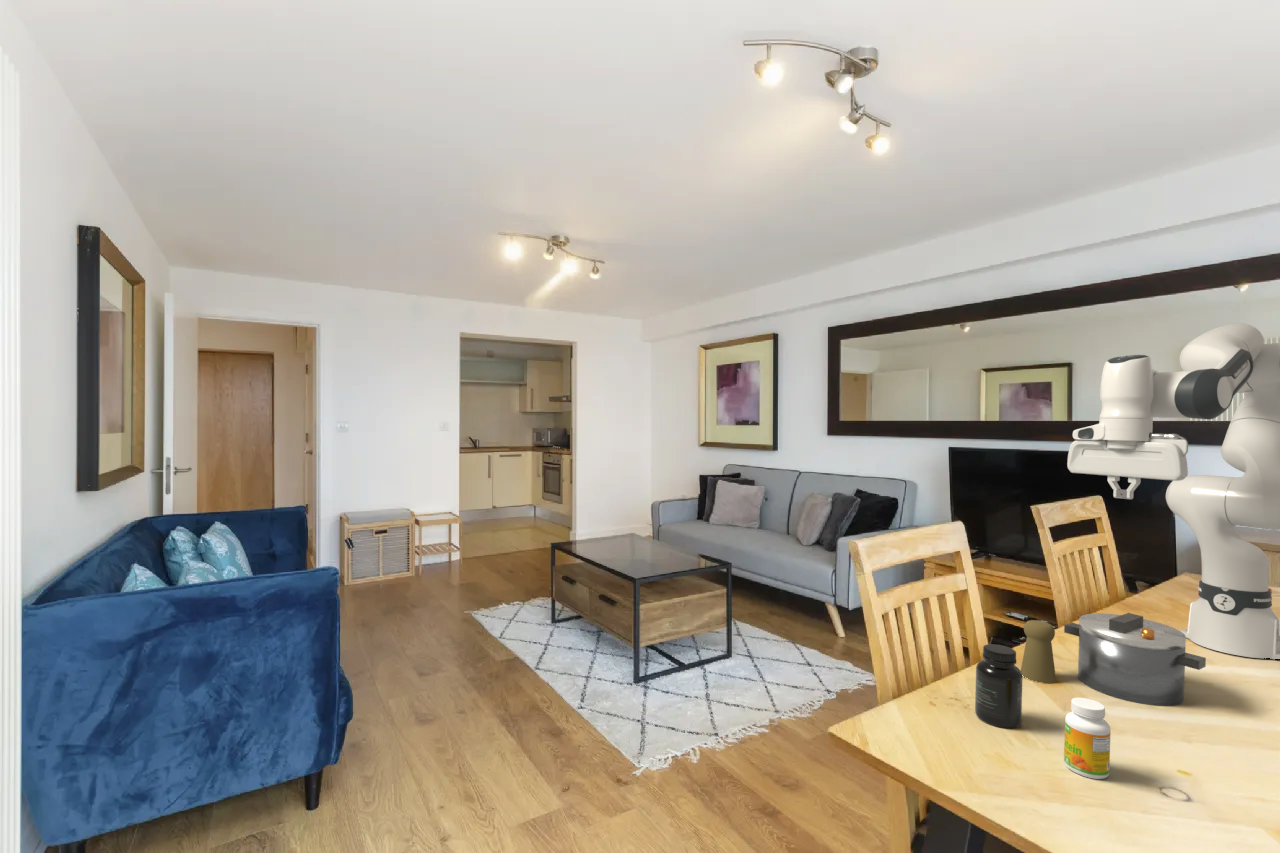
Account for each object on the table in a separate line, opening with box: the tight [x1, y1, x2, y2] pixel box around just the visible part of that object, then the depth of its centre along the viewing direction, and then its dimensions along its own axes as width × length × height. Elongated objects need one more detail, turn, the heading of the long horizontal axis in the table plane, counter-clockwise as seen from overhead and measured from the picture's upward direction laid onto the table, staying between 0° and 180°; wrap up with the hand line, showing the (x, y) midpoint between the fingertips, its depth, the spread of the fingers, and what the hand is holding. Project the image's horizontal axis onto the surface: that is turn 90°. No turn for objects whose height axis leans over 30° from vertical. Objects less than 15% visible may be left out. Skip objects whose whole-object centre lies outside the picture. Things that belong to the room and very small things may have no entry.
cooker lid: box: [1078, 612, 1187, 650], centre depth 119 cm, size 16×16×4 cm
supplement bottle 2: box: [1063, 697, 1111, 780], centre depth 90 cm, size 5×5×10 cm
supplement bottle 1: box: [974, 643, 1024, 729], centre depth 105 cm, size 7×7×12 cm
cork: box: [1020, 619, 1057, 684], centre depth 123 cm, size 6×6×11 cm
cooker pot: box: [1063, 622, 1207, 707], centre depth 119 cm, size 16×22×10 cm
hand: (1123, 498), depth 130 cm, fingers closed
